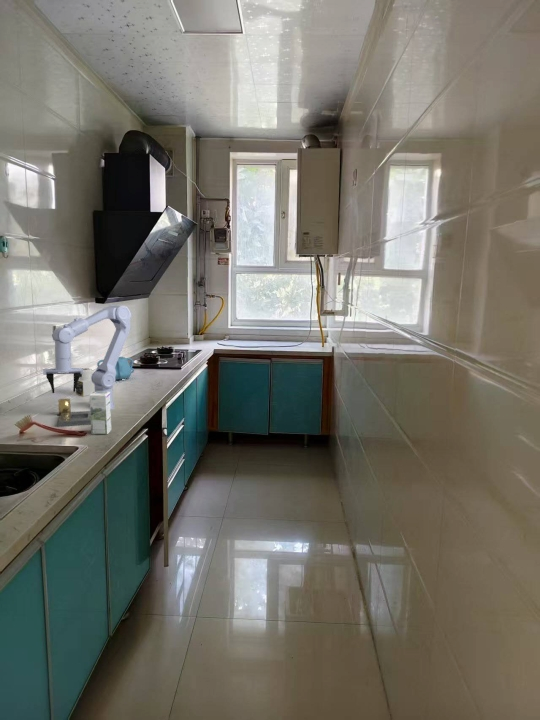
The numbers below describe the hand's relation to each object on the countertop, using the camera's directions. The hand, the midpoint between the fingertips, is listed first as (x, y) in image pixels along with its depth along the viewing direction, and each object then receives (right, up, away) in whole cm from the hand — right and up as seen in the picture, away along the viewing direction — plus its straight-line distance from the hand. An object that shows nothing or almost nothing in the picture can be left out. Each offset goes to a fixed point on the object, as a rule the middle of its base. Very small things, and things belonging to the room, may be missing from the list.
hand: (63, 392), depth 202 cm
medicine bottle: (-5, -4, +38) cm, 39 cm away
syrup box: (+21, -13, -20) cm, 32 cm away
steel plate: (+9, -11, -6) cm, 15 cm away
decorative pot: (-2, +2, +74) cm, 74 cm away
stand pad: (0, -9, +2) cm, 10 cm away
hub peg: (0, -9, +2) cm, 9 cm away
